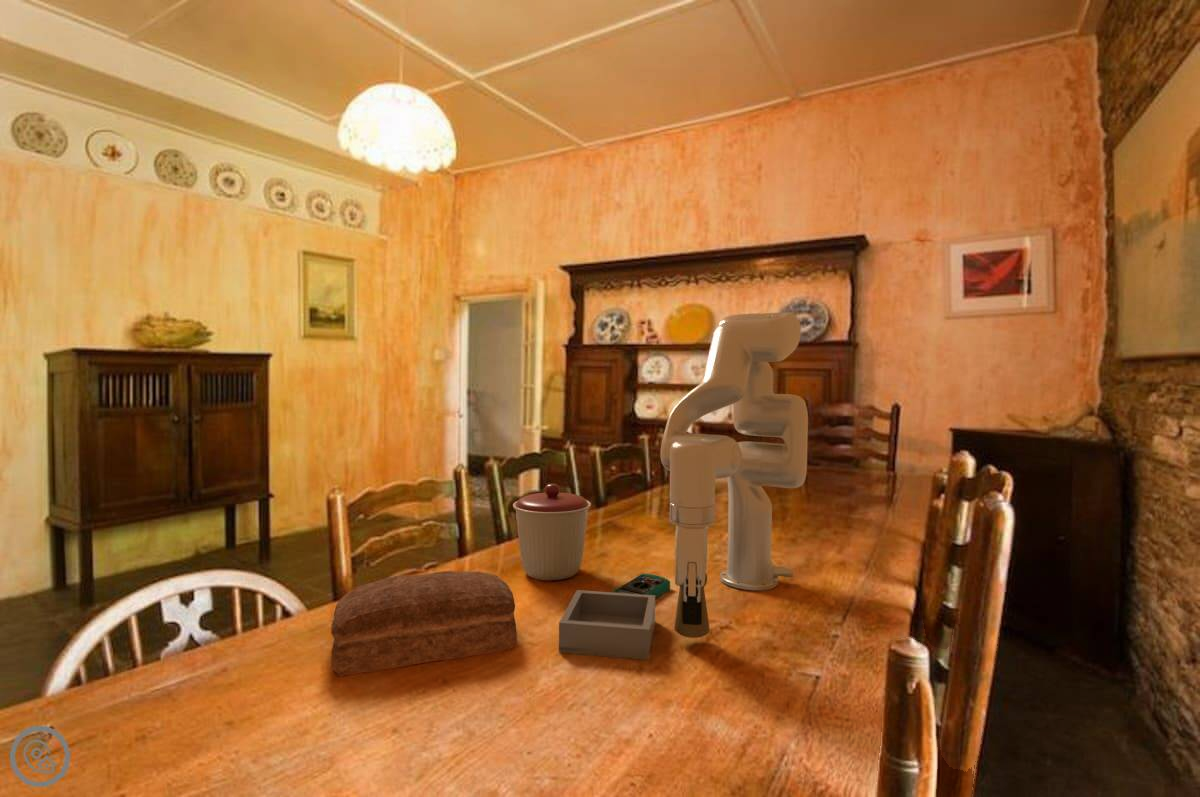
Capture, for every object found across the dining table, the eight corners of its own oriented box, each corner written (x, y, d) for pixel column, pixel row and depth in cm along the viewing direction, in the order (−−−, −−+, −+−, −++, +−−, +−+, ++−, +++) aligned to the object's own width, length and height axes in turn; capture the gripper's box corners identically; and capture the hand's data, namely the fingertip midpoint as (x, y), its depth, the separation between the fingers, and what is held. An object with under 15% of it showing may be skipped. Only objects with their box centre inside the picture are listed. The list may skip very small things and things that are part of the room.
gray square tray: (654, 621, 108) (655, 595, 108) (649, 660, 94) (649, 629, 93) (576, 615, 111) (576, 590, 111) (558, 652, 96) (559, 622, 96)
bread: (337, 635, 102) (337, 571, 102) (502, 613, 113) (502, 555, 112) (328, 682, 86) (327, 607, 86) (521, 652, 97) (521, 584, 96)
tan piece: (670, 620, 103) (670, 561, 101) (704, 618, 103) (704, 559, 102) (678, 638, 97) (678, 576, 95) (714, 636, 97) (714, 574, 96)
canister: (573, 591, 123) (574, 493, 122) (498, 581, 129) (498, 488, 128) (600, 566, 140) (601, 479, 140) (533, 558, 146) (533, 475, 145)
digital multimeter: (672, 590, 126) (672, 577, 126) (639, 613, 113) (639, 598, 113) (642, 583, 130) (642, 571, 130) (607, 605, 117) (607, 591, 117)
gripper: (671, 501, 106) (671, 599, 107) (667, 526, 90) (667, 640, 91) (713, 502, 105) (712, 601, 106) (716, 528, 89) (716, 643, 90)
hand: (691, 618), depth 99 cm, fingers closed on tan piece, 2 cm apart
